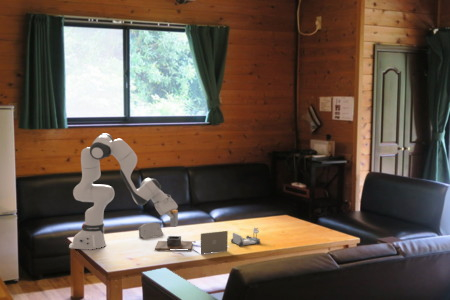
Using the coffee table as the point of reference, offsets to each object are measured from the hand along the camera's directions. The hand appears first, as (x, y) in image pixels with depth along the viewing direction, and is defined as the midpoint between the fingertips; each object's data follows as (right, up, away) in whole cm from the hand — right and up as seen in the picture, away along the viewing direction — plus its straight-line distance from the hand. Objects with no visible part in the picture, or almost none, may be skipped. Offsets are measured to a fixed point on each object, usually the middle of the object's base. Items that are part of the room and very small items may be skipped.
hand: (174, 216), depth 379 cm
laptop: (+22, -21, -5) cm, 30 cm away
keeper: (-1, -19, +3) cm, 19 cm away
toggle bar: (-1, -6, +1) cm, 6 cm away
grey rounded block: (-19, -17, +31) cm, 40 cm away
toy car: (+46, -19, +15) cm, 52 cm away
